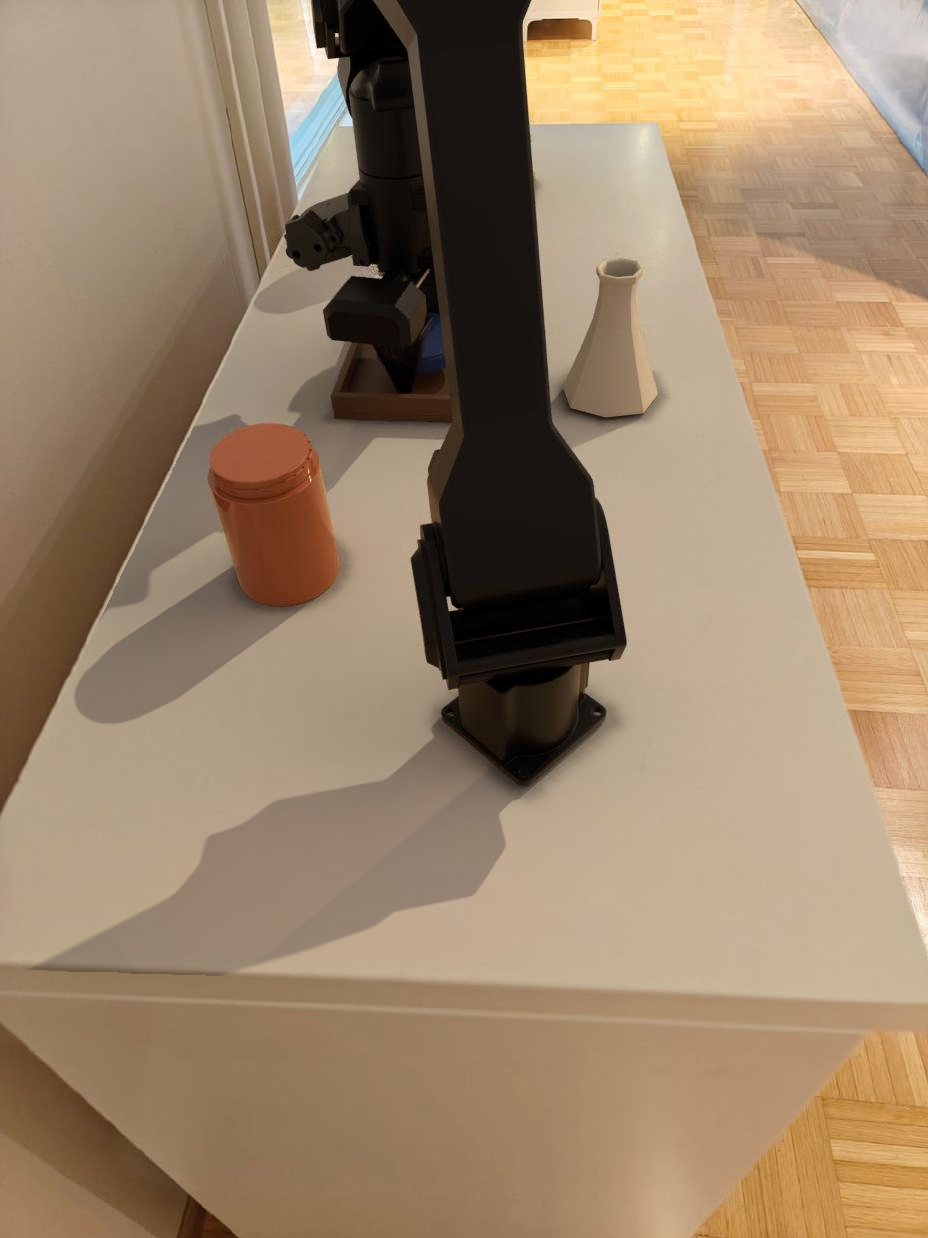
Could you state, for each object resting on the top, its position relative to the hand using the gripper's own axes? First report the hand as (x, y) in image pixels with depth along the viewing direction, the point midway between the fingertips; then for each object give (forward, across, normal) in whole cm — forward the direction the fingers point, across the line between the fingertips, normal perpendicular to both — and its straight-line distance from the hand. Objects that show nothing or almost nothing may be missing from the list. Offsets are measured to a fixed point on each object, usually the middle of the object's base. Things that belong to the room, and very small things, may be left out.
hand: (419, 368), depth 73 cm
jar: (0, +24, -1) cm, 24 cm away
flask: (+1, 0, +15) cm, 15 cm away
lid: (-3, 0, 0) cm, 3 cm away
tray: (0, 0, 0) cm, 0 cm away
